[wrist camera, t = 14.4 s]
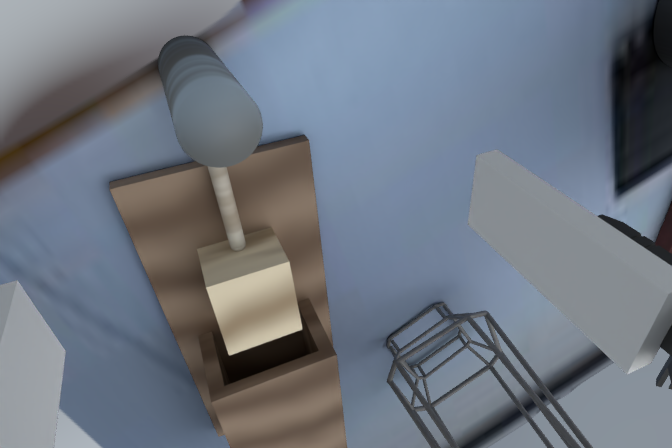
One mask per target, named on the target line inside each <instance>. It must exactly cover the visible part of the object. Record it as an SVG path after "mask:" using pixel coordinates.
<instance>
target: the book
mask: <svg viewBox="0 0 672 448" xmlns="http://www.w3.org/2000/svg"><path fill="white" fill-rule="evenodd" d="M655 245H656V246H658V245H659V246H661V247H662V248H664V249H665V250H667V251H668V252H670V253H671V254H672V202H671V204H670V207H669V209H668V212H667V214H666V217H665V220H664V222H663V224H662V227H661V229H660V232H659V234H658V237H657V239H656V242H655Z"/></svg>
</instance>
